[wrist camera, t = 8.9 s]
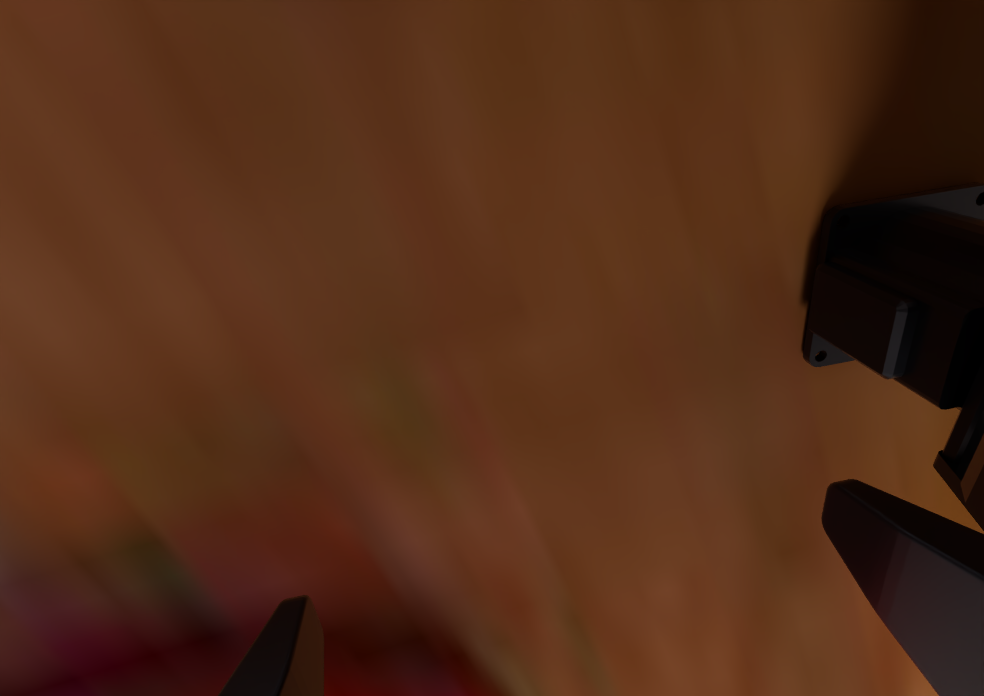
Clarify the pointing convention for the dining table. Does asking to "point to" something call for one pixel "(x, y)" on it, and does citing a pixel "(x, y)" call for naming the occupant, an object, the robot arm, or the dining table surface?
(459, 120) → the dining table surface
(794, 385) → the dining table surface
